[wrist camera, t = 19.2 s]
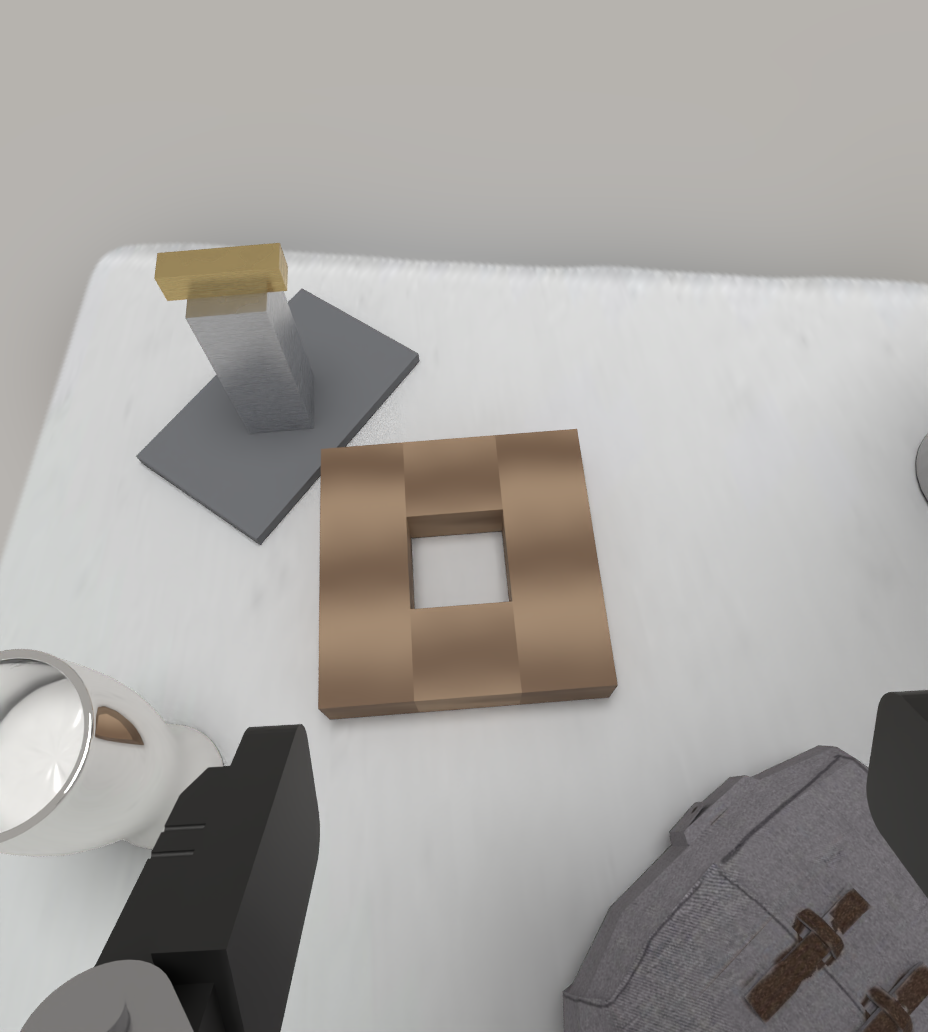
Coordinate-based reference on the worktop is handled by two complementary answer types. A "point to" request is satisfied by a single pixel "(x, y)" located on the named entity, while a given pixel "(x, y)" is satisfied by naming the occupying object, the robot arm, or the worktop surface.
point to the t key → (245, 330)
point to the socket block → (467, 628)
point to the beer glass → (86, 759)
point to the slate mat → (288, 454)
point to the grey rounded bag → (765, 918)
